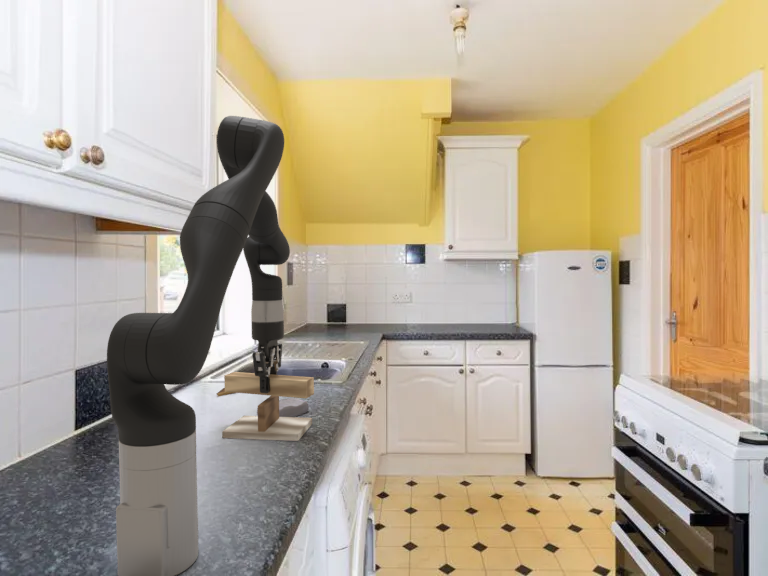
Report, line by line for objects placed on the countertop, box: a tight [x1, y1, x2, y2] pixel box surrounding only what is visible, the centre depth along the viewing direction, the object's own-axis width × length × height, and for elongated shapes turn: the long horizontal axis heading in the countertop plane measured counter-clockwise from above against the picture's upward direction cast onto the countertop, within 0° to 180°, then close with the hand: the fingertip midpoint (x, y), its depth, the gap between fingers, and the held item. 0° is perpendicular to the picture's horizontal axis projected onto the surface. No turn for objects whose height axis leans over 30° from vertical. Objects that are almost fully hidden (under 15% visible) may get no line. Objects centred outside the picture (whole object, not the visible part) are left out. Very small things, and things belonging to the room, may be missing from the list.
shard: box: [216, 387, 236, 397], centre depth 151 cm, size 11×8×2 cm
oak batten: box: [223, 371, 315, 399], centre depth 114 cm, size 4×22×4 cm, turn 72°
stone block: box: [256, 397, 310, 417], centre depth 127 cm, size 12×5×10 cm
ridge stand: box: [221, 395, 313, 442], centre depth 114 cm, size 12×18×8 cm, turn 83°
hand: (268, 389), depth 114 cm, fingers closed on oak batten, 4 cm apart
